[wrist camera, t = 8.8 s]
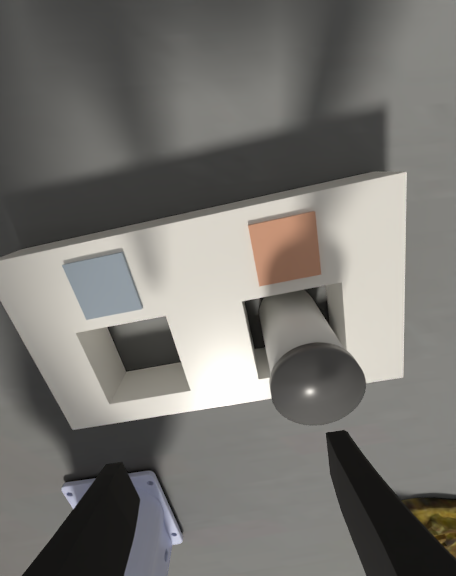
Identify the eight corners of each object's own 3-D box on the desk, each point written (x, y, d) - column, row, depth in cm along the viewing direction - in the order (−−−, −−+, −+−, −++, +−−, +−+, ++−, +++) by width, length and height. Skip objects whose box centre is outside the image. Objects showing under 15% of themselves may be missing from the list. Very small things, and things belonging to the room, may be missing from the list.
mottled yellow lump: (521, 499, 27) (373, 472, 25) (583, 559, 22) (407, 530, 21) (474, 567, 29) (336, 546, 28) (520, 633, 25) (359, 613, 23)
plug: (319, 332, 19) (366, 418, 12) (261, 342, 19) (277, 431, 13) (314, 278, 17) (365, 343, 11) (252, 289, 18) (264, 359, 11)
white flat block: (378, 347, 19) (405, 379, 16) (93, 395, 21) (71, 432, 18) (374, 171, 15) (409, 171, 12) (21, 249, 17) (-24, 266, 14)
